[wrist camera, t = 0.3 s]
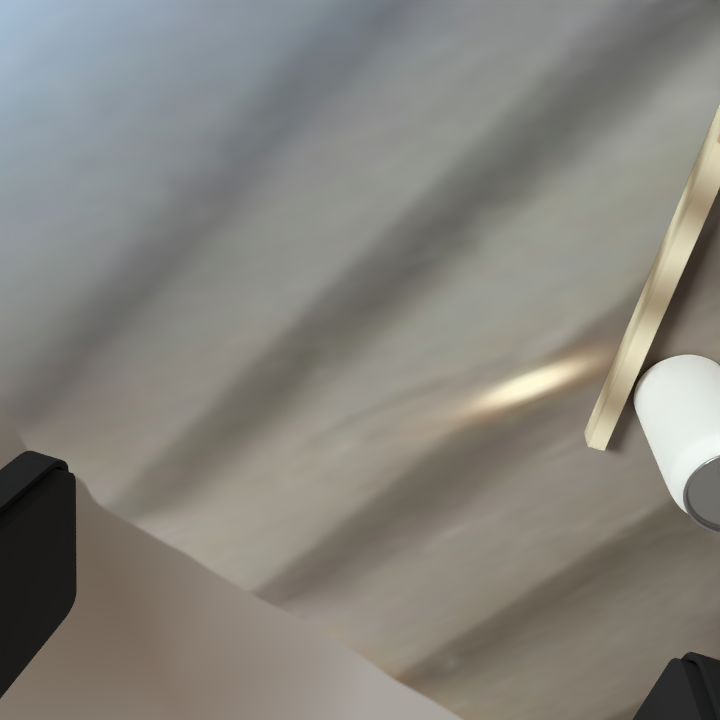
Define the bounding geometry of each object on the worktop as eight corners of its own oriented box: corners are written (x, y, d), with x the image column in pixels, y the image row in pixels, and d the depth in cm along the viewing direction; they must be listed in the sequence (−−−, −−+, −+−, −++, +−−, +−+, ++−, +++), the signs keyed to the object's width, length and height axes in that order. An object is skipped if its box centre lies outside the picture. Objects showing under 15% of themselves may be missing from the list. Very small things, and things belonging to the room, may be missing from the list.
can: (730, 345, 42) (810, 438, 31) (731, 427, 44) (807, 539, 33) (628, 359, 43) (671, 451, 33) (635, 436, 46) (677, 546, 35)
